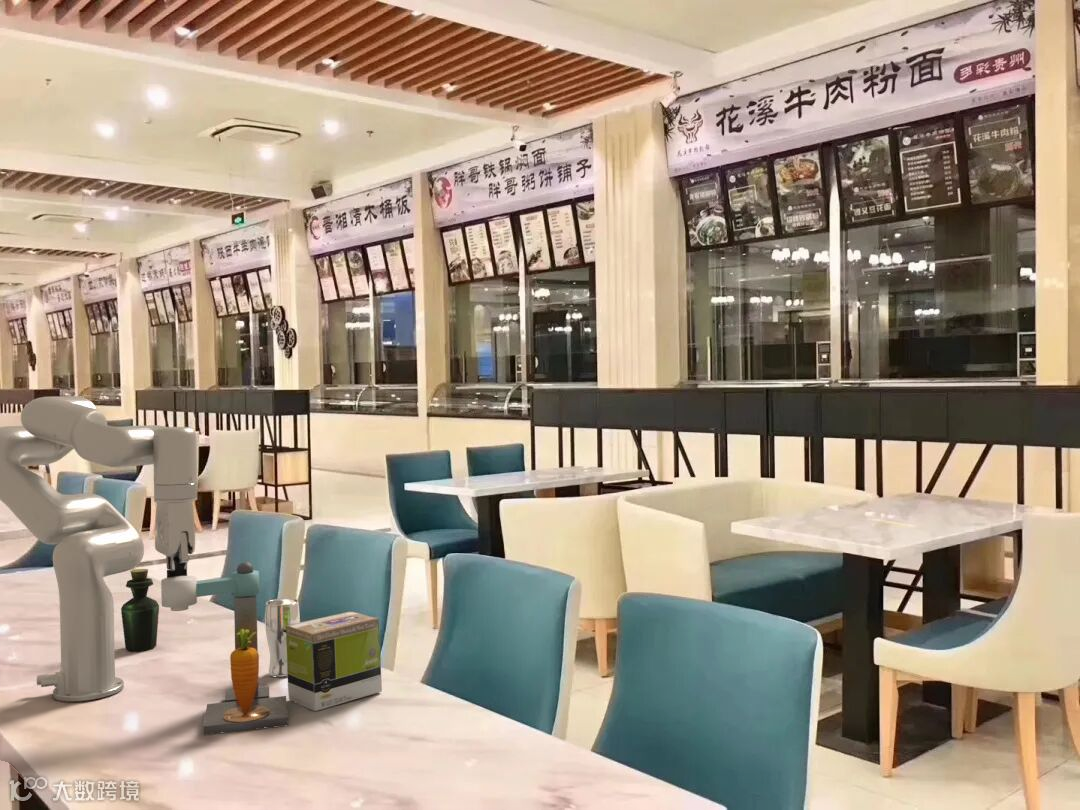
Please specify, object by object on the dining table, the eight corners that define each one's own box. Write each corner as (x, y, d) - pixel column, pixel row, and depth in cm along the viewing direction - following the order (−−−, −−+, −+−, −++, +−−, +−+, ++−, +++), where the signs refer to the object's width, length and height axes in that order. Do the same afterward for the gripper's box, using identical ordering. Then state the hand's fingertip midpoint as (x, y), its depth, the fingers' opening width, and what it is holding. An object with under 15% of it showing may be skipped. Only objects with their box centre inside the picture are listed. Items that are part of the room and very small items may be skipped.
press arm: (253, 595, 180) (253, 558, 180) (263, 601, 175) (263, 562, 175) (158, 608, 170) (157, 569, 170) (166, 614, 165) (165, 574, 165)
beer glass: (291, 679, 190) (290, 606, 190) (259, 677, 191) (258, 604, 191) (306, 669, 197) (305, 598, 196) (276, 667, 198) (274, 597, 198)
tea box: (353, 682, 187) (352, 609, 187) (382, 693, 180) (381, 617, 180) (286, 700, 177) (284, 623, 177) (314, 713, 170) (312, 632, 169)
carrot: (234, 708, 167) (233, 625, 167) (263, 707, 168) (261, 624, 168) (227, 718, 163) (226, 632, 162) (256, 716, 163) (255, 631, 163)
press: (203, 735, 159) (201, 618, 159) (209, 700, 177) (207, 595, 177) (288, 725, 163) (286, 611, 163) (285, 692, 182) (283, 589, 181)
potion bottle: (128, 655, 209) (126, 575, 209) (116, 648, 215) (115, 570, 215) (165, 648, 214) (163, 570, 214) (153, 641, 220) (151, 565, 220)
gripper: (143, 491, 178) (145, 586, 178) (166, 498, 166) (167, 600, 166) (184, 488, 182) (185, 581, 183) (208, 494, 170) (210, 594, 171)
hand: (177, 590), depth 174 cm, fingers closed
